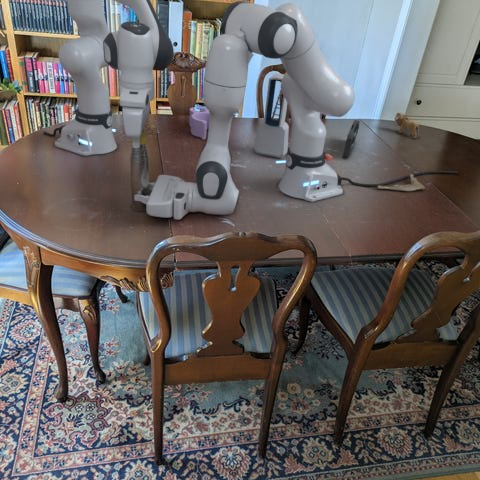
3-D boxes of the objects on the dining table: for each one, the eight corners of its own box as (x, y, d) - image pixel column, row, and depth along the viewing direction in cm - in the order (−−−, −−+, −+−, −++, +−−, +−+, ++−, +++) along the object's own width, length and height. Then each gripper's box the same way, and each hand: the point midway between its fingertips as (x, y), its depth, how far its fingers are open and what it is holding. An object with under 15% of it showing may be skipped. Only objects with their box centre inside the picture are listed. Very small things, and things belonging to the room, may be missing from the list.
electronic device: (287, 153, 187) (299, 77, 171) (282, 160, 181) (294, 81, 165) (257, 147, 190) (266, 71, 174) (252, 153, 184) (260, 75, 167)
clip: (182, 123, 206) (183, 107, 202) (209, 122, 210) (210, 106, 207) (197, 140, 191) (197, 123, 187) (225, 138, 195) (226, 122, 191)
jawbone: (429, 189, 172) (431, 184, 171) (394, 201, 161) (396, 196, 160) (410, 177, 177) (412, 172, 176) (375, 189, 167) (376, 184, 165)
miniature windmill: (286, 130, 210) (297, 60, 194) (268, 127, 211) (277, 58, 195) (288, 124, 218) (299, 56, 202) (271, 121, 219) (279, 54, 203)
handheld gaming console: (349, 160, 187) (354, 136, 182) (342, 158, 188) (347, 134, 183) (355, 142, 206) (361, 119, 201) (349, 140, 207) (354, 118, 201)
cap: (146, 138, 132) (146, 131, 131) (148, 144, 128) (147, 137, 127) (129, 138, 131) (129, 131, 130) (131, 144, 127) (130, 137, 126)
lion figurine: (389, 131, 223) (394, 112, 218) (394, 128, 227) (399, 110, 222) (418, 140, 216) (424, 121, 211) (422, 137, 219) (428, 119, 214)
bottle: (148, 202, 143) (147, 132, 131) (149, 210, 140) (148, 139, 127) (131, 203, 142) (128, 132, 130) (132, 211, 138) (130, 139, 126)
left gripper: (131, 79, 131) (133, 127, 138) (117, 101, 113) (120, 154, 121) (154, 81, 131) (155, 129, 138) (144, 103, 114) (145, 156, 121)
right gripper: (188, 172, 145) (144, 167, 145) (178, 203, 128) (128, 198, 128) (188, 190, 149) (144, 185, 148) (178, 222, 131) (129, 217, 131)
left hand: (139, 141), depth 129 cm, fingers open, 7 cm apart
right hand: (137, 191), depth 138 cm, fingers closed on bottle, 5 cm apart
